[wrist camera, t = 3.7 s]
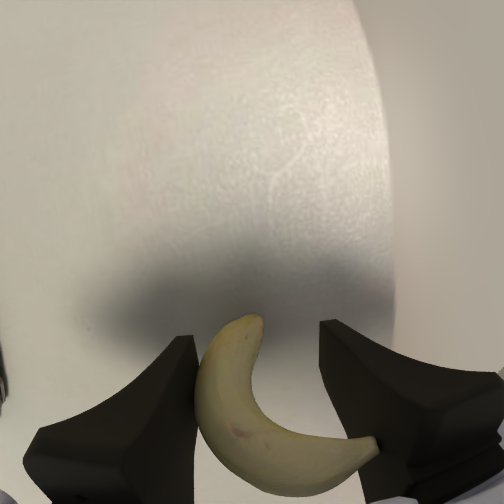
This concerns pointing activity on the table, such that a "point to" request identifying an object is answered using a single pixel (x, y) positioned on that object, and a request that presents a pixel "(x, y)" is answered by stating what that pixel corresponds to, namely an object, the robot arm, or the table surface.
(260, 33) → the table surface
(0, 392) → the knife
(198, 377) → the fruit
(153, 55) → the table surface
